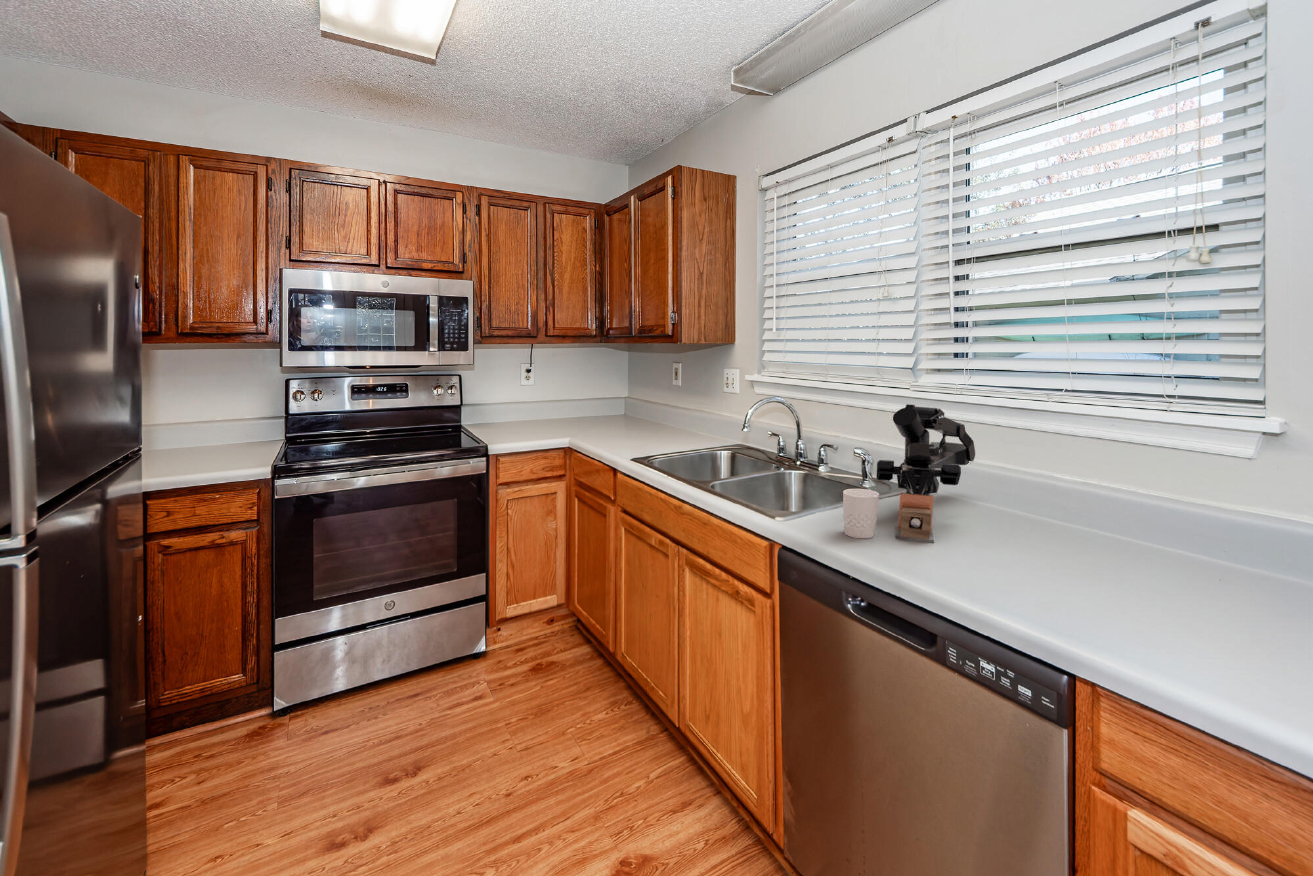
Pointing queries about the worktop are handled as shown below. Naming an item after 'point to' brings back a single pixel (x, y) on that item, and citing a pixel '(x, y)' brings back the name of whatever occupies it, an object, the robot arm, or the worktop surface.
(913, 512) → the bearing block
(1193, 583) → the worktop surface
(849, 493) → the white cup
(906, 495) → the copper wooden slab
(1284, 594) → the worktop surface
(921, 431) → the robot arm
